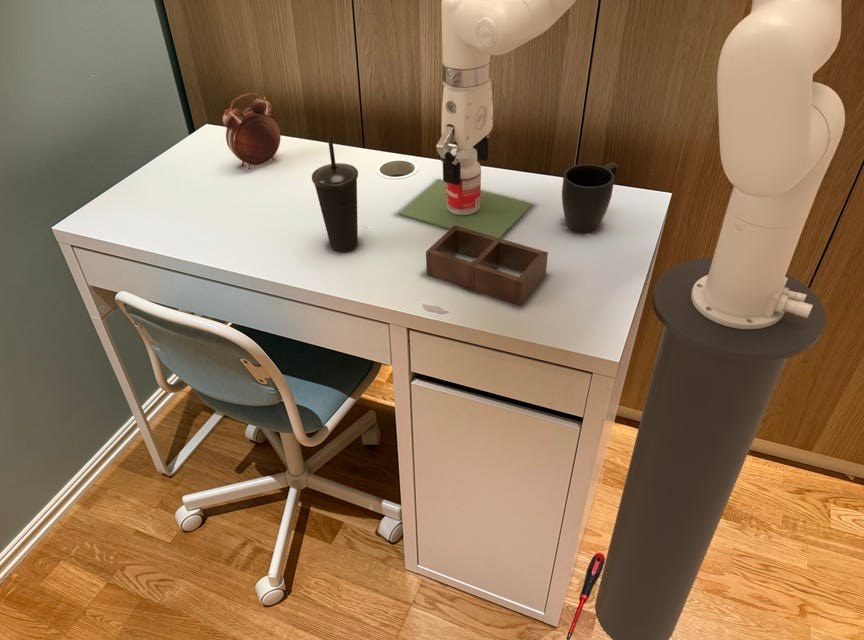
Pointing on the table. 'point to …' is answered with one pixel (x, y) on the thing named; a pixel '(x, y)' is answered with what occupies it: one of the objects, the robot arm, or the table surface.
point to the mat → (489, 219)
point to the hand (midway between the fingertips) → (466, 170)
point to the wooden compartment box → (487, 264)
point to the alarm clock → (252, 131)
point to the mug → (587, 195)
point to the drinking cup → (338, 202)
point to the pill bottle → (465, 185)
